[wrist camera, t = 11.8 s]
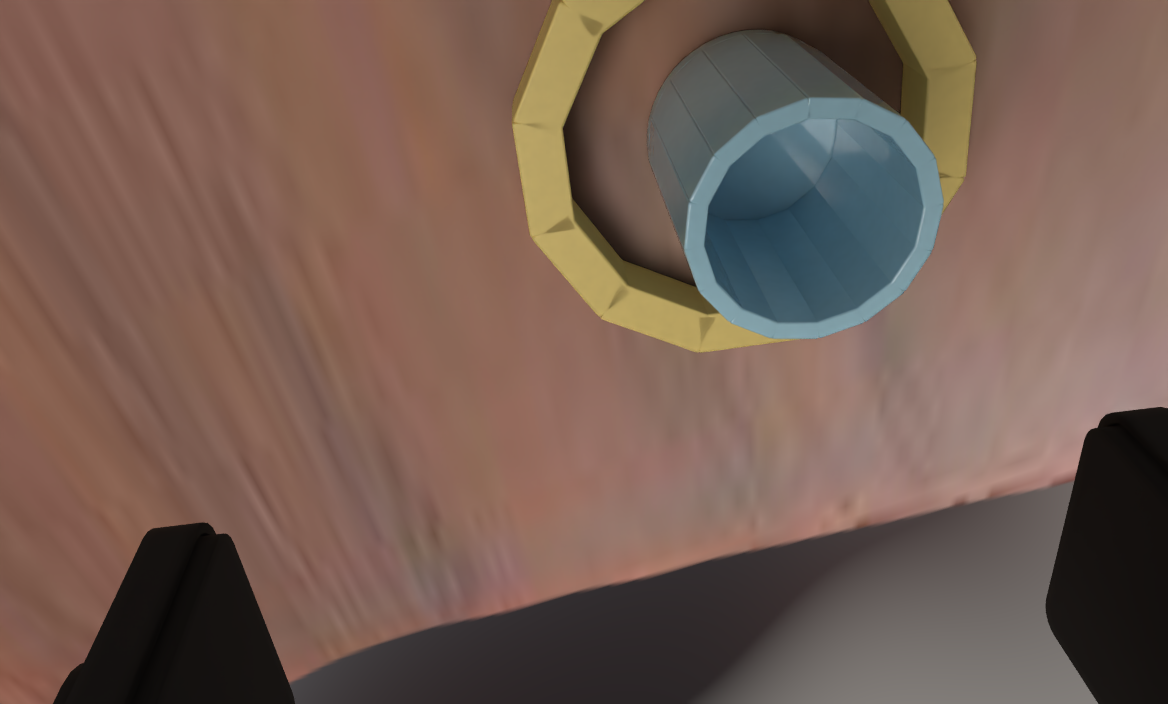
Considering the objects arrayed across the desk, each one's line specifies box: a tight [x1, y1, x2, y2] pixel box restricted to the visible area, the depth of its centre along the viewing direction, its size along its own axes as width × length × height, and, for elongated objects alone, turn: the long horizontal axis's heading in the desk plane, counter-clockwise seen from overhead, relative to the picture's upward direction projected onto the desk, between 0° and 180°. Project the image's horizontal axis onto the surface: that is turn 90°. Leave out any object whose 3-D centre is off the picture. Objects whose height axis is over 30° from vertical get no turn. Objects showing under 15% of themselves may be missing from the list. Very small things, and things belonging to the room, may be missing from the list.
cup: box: [647, 30, 944, 339], centre depth 26 cm, size 6×6×8 cm
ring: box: [512, 0, 977, 353], centre depth 28 cm, size 13×13×2 cm
